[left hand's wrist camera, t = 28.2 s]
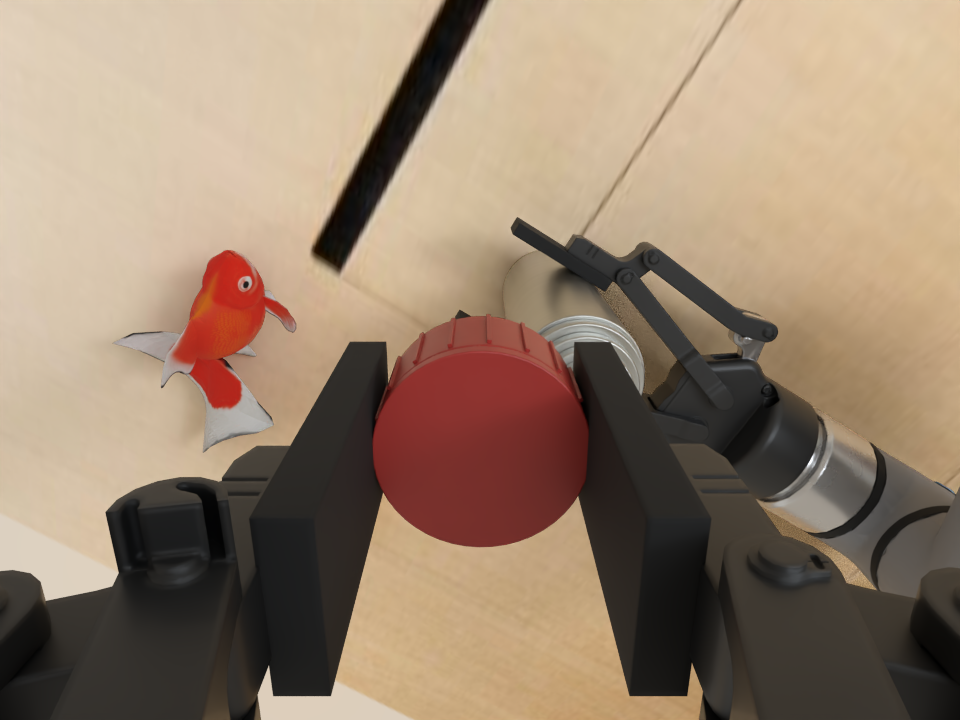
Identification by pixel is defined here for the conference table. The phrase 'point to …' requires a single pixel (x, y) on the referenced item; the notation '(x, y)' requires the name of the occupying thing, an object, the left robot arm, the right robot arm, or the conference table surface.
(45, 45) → the conference table surface
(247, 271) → the fish
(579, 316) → the bottle
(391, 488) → the cap
